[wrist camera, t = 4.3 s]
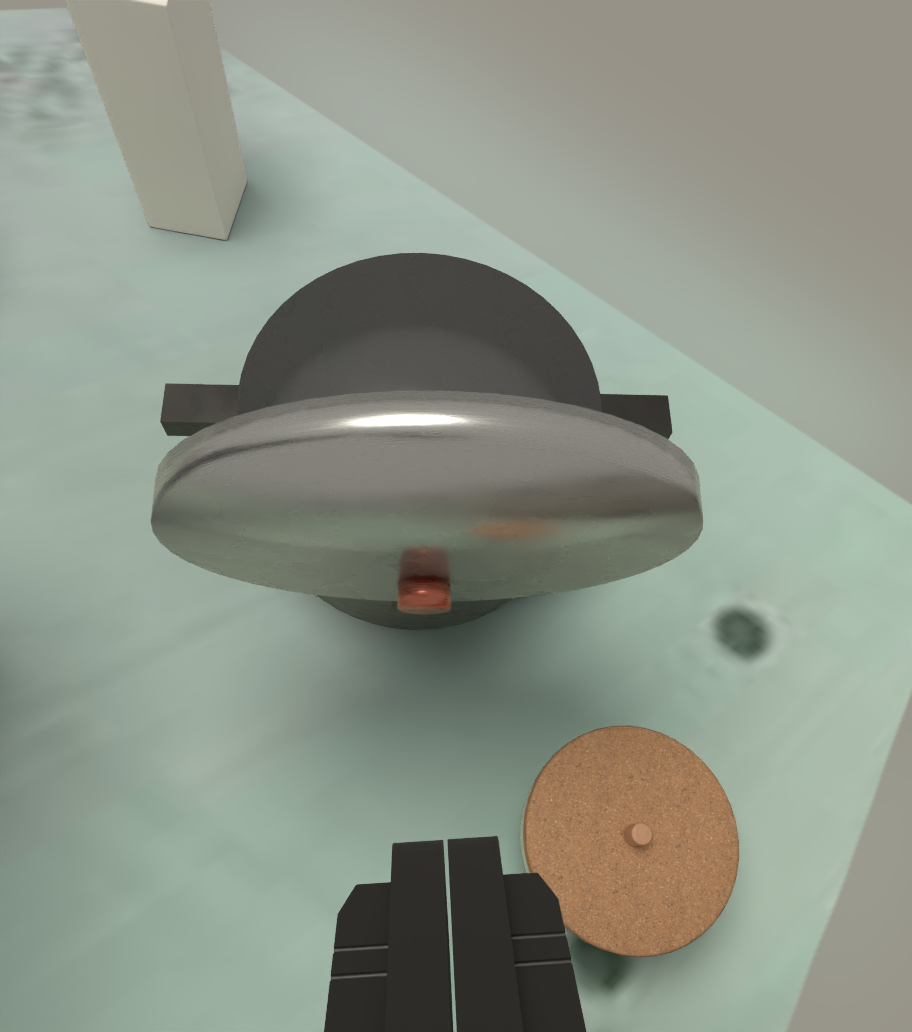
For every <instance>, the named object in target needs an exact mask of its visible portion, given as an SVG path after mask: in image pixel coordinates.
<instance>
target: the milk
mask: <svg viewBox="0 0 912 1032" xmlns="http://www.w3.org/2000/svg"><path fill="white" fill-rule="evenodd" d="M65 1H66V4H67V6H68V9H69V12H70V14H71V17H72V20H73V22H74V25H75V28H76V31H77V33H78V36H79V39H80V41H81V44H82V47H83V49H84V52H85V55H86V58H87V60H88V63H89V66H90V68H91V71H92V74H93V76H94V79H95V82H96V84H97V87H98V90H99V93H100V95H101V98H102V101H103V103H104V106H105V109H106V111H107V114H108V117H109V120H110V122H111V125H112V128H113V130H114V133H115V136H116V138H117V141H118V144H119V147H120V149H121V152H122V155H123V157H124V160H125V163H126V165H127V168H128V171H129V173H130V176H131V179H132V182H133V184H134V187H135V190H136V192H137V195H138V198H139V200H140V203H141V206H142V209H143V211H144V214H145V217H146V219H147V222H148V225H149V226H150V227H155V228H160V229H166V230H171V231H177V232H183V233H188V234H194V235H200V236H205V237H211V238H216V239H222V240H227V239H228V236H229V233H230V230H231V227H232V224H233V221H234V218H235V215H236V212H237V210H238V207H239V204H240V201H241V198H242V195H243V192H244V189H245V186H246V183H247V177H246V173H245V168H244V163H243V158H242V153H241V148H240V143H239V139H238V134H237V129H236V124H235V119H234V114H233V110H232V105H231V100H230V95H229V90H228V85H227V81H226V76H225V71H224V66H223V61H222V56H221V52H220V47H219V42H218V37H217V32H216V27H215V23H214V18H213V13H212V8H211V3H210V0H65Z"/></svg>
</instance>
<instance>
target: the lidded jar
mask: <svg viewBox="0 0 912 1032" xmlns="http://www.w3.org/2000/svg"><path fill="white" fill-rule="evenodd" d="M520 843H521V853H522V858H523V863H524V867H525V870H526V873H539V875H540V876H541V877H542V878H543V880H544V881H545V882H546V884H547V885H548V886H549V887H550V889H551V890H552V891H553V893H554V894H555V895H556V896H557V898H558V899H559V904H560V909H561V913H562V918H563V923H564V927H565V928H567V929H568V930H569V931H571V932H572V933H573V934H575V935H576V936H577V937H579V938H580V939H582V940H583V941H585V942H587V943H589V944H591V945H593V946H595V947H597V948H599V949H602V950H605V951H608V952H612V953H615V954H618V955H625V956H633V957H647V956H657V955H661V954H666V953H670V952H673V951H675V950H677V949H680V948H682V947H684V946H686V945H688V944H690V943H691V942H693V941H694V940H695V939H697V938H698V937H700V936H701V935H702V934H703V933H704V932H705V931H706V930H707V929H708V928H709V927H710V926H711V925H712V924H713V923H714V922H715V921H716V919H717V918H718V916H719V915H720V914H721V912H722V911H723V909H724V907H725V905H726V903H727V901H728V899H729V897H730V895H731V893H732V889H733V886H734V883H735V879H736V876H737V868H738V861H739V840H738V833H737V827H736V821H735V818H734V815H733V812H732V808H731V805H730V803H729V801H728V799H727V796H726V794H725V792H724V790H723V788H722V787H721V785H720V783H719V782H718V780H717V779H716V777H715V776H714V774H713V773H712V772H711V770H710V769H709V768H708V767H707V766H706V765H705V763H704V762H703V761H702V760H701V759H700V758H699V757H698V756H696V755H695V754H694V753H693V752H692V751H691V750H690V749H688V748H687V747H685V746H684V745H682V744H681V743H679V742H678V741H676V740H675V739H672V738H670V737H668V736H666V735H664V734H662V733H660V732H656V731H653V730H649V729H646V728H641V727H633V726H611V727H606V728H601V729H596V730H594V731H591V732H588V733H586V734H583V735H581V736H579V737H577V738H576V739H574V740H572V741H571V742H569V743H567V744H566V745H565V746H564V747H562V748H561V749H560V750H559V751H558V752H556V753H555V754H554V755H553V756H552V758H551V759H550V760H549V761H548V762H547V763H546V765H545V766H544V767H543V768H542V770H541V772H540V773H539V775H538V777H537V778H536V780H535V782H534V783H533V785H532V787H531V789H530V791H529V794H528V796H527V799H526V801H525V805H524V809H523V813H522V817H521V829H520Z"/></svg>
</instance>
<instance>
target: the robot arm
mask: <svg viewBox="0 0 912 1032" xmlns="http://www.w3.org/2000/svg"><path fill="white" fill-rule="evenodd" d="M448 858H449V879H450V899H451V920H452V940H453V961H454V981H455V1001H456V1022H457V1032H586V1028H585V1023H584V1018H583V1013H582V1009H581V1004H580V999H579V994H578V990H577V985H576V980H575V975H574V971H573V966H572V964H571V956H570V952H569V947H568V942H567V937H566V935H565V928H564V923H563V918H562V913H561V909H560V904H559V899H558V898H557V896H556V895H555V894H554V893H553V891H552V890H551V889H550V887H549V886H548V885H547V884H546V882H545V881H544V880H543V878H542V877H541V876H540V875H539V873H522V874H507V875H503V871H502V864H501V856H500V849H499V841H498V837H497V836H494V837H478V838H463V839H448ZM324 1032H453V1016H452V994H451V971H450V951H449V932H448V914H447V897H446V880H445V863H444V846H443V840H435V841H420V842H404V843H393V846H392V866H391V882H389V883H374V884H359V885H356V886H355V887H354V889H353V891H352V892H351V894H350V895H349V897H348V899H347V900H346V902H345V903H344V905H343V907H342V908H341V910H340V911H339V913H338V917H337V926H336V934H335V943H334V954H333V960H332V969H331V981H330V986H329V994H328V1003H327V1012H326V1020H325V1029H324Z"/></svg>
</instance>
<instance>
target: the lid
mask: <svg viewBox="0 0 912 1032" xmlns="http://www.w3.org/2000/svg"><path fill="white" fill-rule="evenodd" d="M151 525H152V529H153V533H154V534H155V536H156V537H157V539H158V540H159V542H160V543H161V544H163V545H164V546H165V547H166V548H167V549H168V550H170V551H171V552H172V553H174V554H176V555H177V556H179V557H180V558H182V559H184V560H185V561H188V562H190V563H192V564H194V565H196V566H199V567H201V568H203V569H206V570H209V571H212V572H214V573H217V574H220V575H223V576H226V577H230V578H233V579H237V580H240V581H244V582H248V583H253V584H257V585H261V586H266V587H271V588H276V589H282V590H287V591H293V592H300V593H307V594H314V595H322V596H331V597H340V598H352V599H364V600H382V601H398V608H397V609H398V610H399V611H401V612H404V613H410V614H438V613H444V612H448V611H450V610H451V601H477V600H493V599H506V598H517V597H528V596H536V595H543V594H551V593H558V592H564V591H570V590H576V589H581V588H586V587H591V586H596V585H601V584H605V583H608V582H612V581H616V580H620V579H624V578H627V577H630V576H633V575H636V574H640V573H643V572H645V571H648V570H650V569H653V568H655V567H658V566H660V565H662V564H664V563H666V562H668V561H670V560H672V559H674V558H676V557H677V556H679V555H680V554H682V553H683V552H684V551H686V550H687V549H689V548H690V547H691V546H692V545H693V543H694V542H695V541H696V540H697V539H698V537H699V535H700V533H701V531H702V529H703V514H702V504H701V494H700V484H699V475H698V473H697V470H696V468H695V465H694V463H693V462H692V461H691V459H690V458H689V457H688V456H687V455H686V454H685V453H684V451H683V450H682V449H680V448H679V447H677V446H676V445H675V444H673V443H672V442H671V441H669V440H668V439H666V438H665V437H663V436H661V435H659V434H657V433H655V432H653V431H651V430H649V429H647V428H645V427H643V426H641V425H638V424H635V423H633V422H630V421H627V420H625V419H622V418H619V417H616V416H614V415H610V414H606V413H603V412H599V411H595V410H591V409H587V408H584V407H580V406H576V405H570V404H565V403H559V402H554V401H548V400H543V399H538V398H530V397H521V396H512V395H504V394H495V393H480V392H461V391H386V392H370V393H355V394H345V395H337V396H329V397H321V398H313V399H306V400H301V401H296V402H290V403H285V404H280V405H275V406H270V407H266V408H262V409H259V410H255V411H252V412H248V413H245V414H241V415H238V416H234V417H231V418H229V419H226V420H224V421H221V422H219V423H216V424H214V425H211V426H208V427H206V428H204V429H202V430H200V431H198V432H197V433H195V434H193V435H191V436H189V437H188V438H186V439H184V440H182V441H181V442H180V443H179V444H178V445H176V446H175V447H174V448H173V449H172V450H170V451H169V452H168V453H167V454H166V456H165V457H164V459H163V460H162V462H161V463H160V464H159V466H158V470H157V474H156V478H155V487H154V496H153V506H152V515H151Z"/></svg>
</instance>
